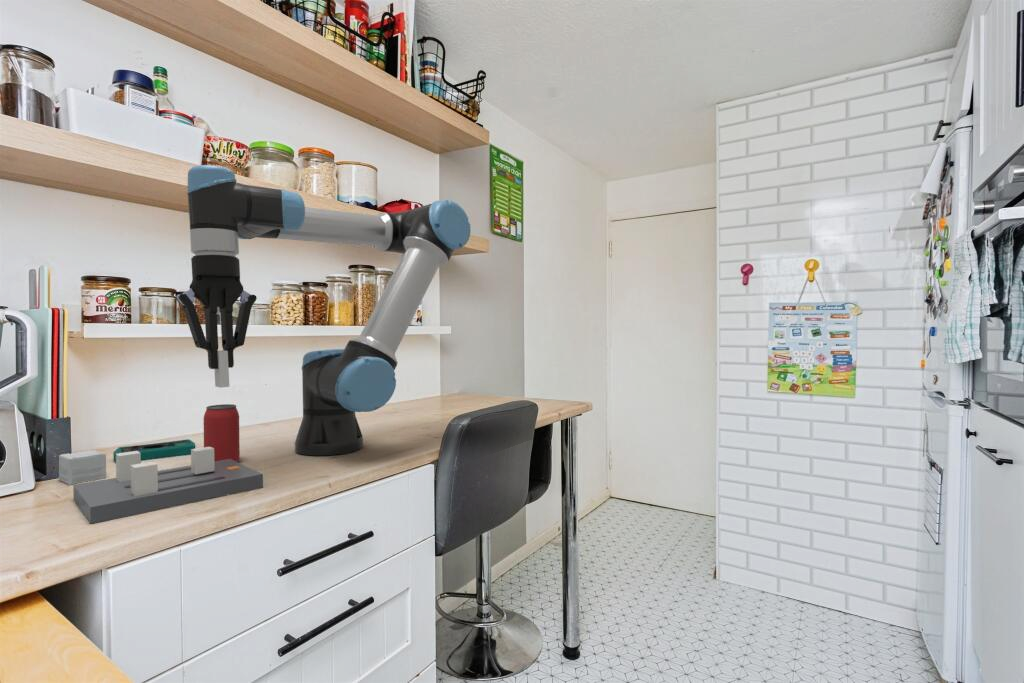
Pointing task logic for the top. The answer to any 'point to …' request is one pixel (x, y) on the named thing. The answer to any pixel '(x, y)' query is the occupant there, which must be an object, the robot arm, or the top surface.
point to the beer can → (222, 431)
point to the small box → (82, 467)
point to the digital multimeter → (159, 449)
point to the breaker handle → (202, 460)
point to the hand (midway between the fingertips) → (222, 386)
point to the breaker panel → (158, 487)
